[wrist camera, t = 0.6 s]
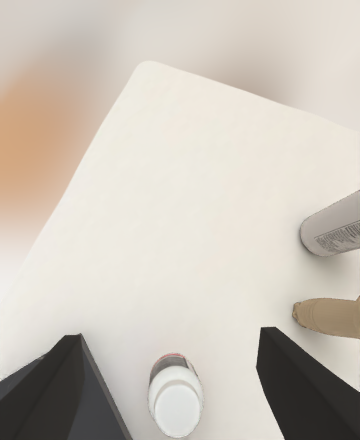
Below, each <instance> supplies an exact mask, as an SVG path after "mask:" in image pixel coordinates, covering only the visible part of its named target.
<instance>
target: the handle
mask: <svg viewBox="0 0 360 440" xmlns="http://www.w3.org/2000/svg"><path fill="white" fill-rule="evenodd" d="M292 315H293V317H294V318H296V319H297V320H298V322H299V324H300V325H301V326H303V327H305V328H309V329H311V330H314V331H317V332H320V333H324V334H328V335H333V336H341V337H350V338H357V339H360V296H359V297H358V298H357V300H356V301H351V300H341V299H332V298H317V299H309V300H306V301H303V302H302V303H296V304H295V305H294V312H293V313H292Z"/></svg>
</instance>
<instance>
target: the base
mask: <svg viewBox="0 0 360 440" xmlns="http://www.w3.org/2000/svg"><path fill="white" fill-rule="evenodd" d="M78 335H81V340H82V350H83V360H84V370H85V380H84V385H83V389H82V394H81V398H80V402H79V407H78V410H77V413H76V416H75V419H74V422H73V425H72V428H71V431H70V433H69V436H68V439H67V440H132V438H131V436H130V434H129V432H128V430H127V428H126V425H125V423H124V421H123V419H122V417H121V415H120V413H119V411H118V409H117V407H116V405H115V403H114V401H113V398H112V396H111V394H110V392H109V390H108V388H107V386H106V384H105V382H104V380H103V378H102V376H101V374H100V371H99V369H98V367H97V365H96V363H95V361H94V359H93V357H92V355H91V353H90V351H89V349H88V346H87V344H86V342H85V340H84V338H83V336H82V334H81V333H80V334H78ZM46 354H47V353H46ZM46 354H45V355H46ZM45 355H43V356H41V357H40V358H38V359H36V360H34V361H33V362H31V363H30V364H28V365H26V366H25V367H23V368H21V369H20V370H18V371H17V372H15V373H13V374H12V375H10V376H9V377H7V378H5V379H4V380H2V381H0V400H1V399H2V398H3V397H4V396H5V395H6V394H7V393H8V392H10V391H11V390H12V389H13V388H14V387H15V386H16V385H17V384H18V383H19V382H20V381H21V380H22V379H23V378H24V377H25V376H26V375H27V374H28V373H29V372H30V371H31V370H32V369H33V368H34V367H35V366H36V365H37V364H38V363H39V362H40V361H41V360H42V359H43V358H44V357H45Z"/></svg>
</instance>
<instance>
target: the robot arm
mask: <svg viewBox="0 0 360 440" xmlns="http://www.w3.org/2000/svg"><path fill="white" fill-rule="evenodd" d="M256 369H257V372H258V375H259V379H260V382H261V385H262V388H263V391H264V394H265V396H266V399H267V401H268V403H269V405H270V408H271V410H272V412H273V414H274V417H275V419H276V421H277V423H278V425H279V428H280V430H281V432H282V434H283V436H284V439H285V440H360V392H358V391H357V390H356V389H354V388H353V387H351V386H350V385H348V384H347V383H346V382H344V381H343V380H342V379H340V378H339V377H338V376H336V375H335V374H333V373H332V372H331V371H330V370H328V369H327V368H326V367H324V366H323V365H322V364H320V363H319V362H318V361H317V360H315V359H314V358H313V357H312V356H310V355H309V354H308V353H307V352H306V351H304V350H303V349H302V348H301V347H299V346H298V345H297V344H296V343H295V342H293V341H292V340H291V339H290V338H289V337H287V336H286V335H285V334H284V333H283V332H281V331H280V330H279V329H278V328H276V327H261V331H260V340H259V348H258V356H257V365H256ZM84 380H85V370H84V360H83V350H82V340H81V335H65V336H64V337H63V338H62V339H61V340H60V341H59V342H58V343H57V344H56V345H55V346H54V347H53V348H52V349H51V350H50V351H49V352H48V353H47V354H46V355H45V357H44V358H43V359H42V360H41V361H40V362H39V363H38V364H37V365H36V366H35V367H34V368H33V369H32V370H31V371H30V372H29V373H28V374H27V375H26V376H25V377H24V378H23V379H22V380H21V381H20V382H19V383H18V384H17V385H16V386H15V387H14V388H13V389H12V390H11V391H10V392H8V393H7V394H6V395H5V396H4V397H3V398H2V399H1V400H0V440H67V439H68V436H69V433H70V431H71V428H72V425H73V422H74V419H75V416H76V413H77V410H78V407H79V402H80V398H81V394H82V389H83V385H84Z"/></svg>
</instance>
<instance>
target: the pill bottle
mask: <svg viewBox="0 0 360 440" xmlns="http://www.w3.org/2000/svg"><path fill="white" fill-rule="evenodd" d="M203 404H204V392H203V388H202V384H201V382H200V380H199V378H198V375H197V374H196V372H195V370H194V368H193V366H192V364H191V363H190V361H189V360H188V359H187V358H186V357H184V356H183V355H181V354H178V353H169V354H166V355H164V356H162V357H160V358H159V359H158V360H157V361H156V363H155V364H154V366H153V368H152V371H151V374H150V383H149V391H148V406H149V410H150V413H151V415H152V417H153V419H154V420H155V422H156V423H157V425H158V427H159V428H160V430H161V431H162V432H163V433H164V434H166V435H167V436H169V437H172V438H182V437H185V436H187V435H189V434H190V433H191V432H192V431H193V430H194V429H195V428H196V426H197V424H198V422H199V419H200V414H201V411H202V408H203Z"/></svg>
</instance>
